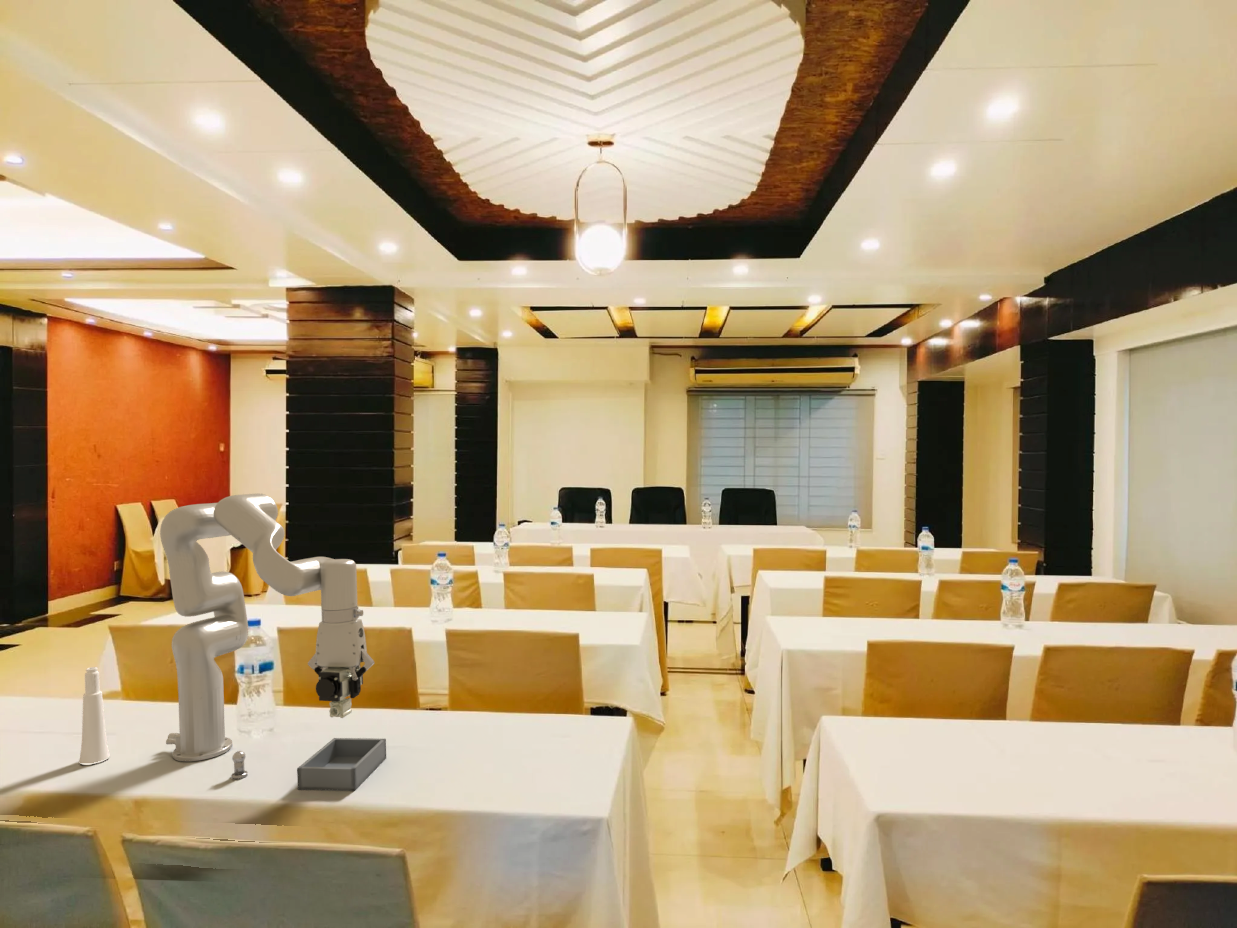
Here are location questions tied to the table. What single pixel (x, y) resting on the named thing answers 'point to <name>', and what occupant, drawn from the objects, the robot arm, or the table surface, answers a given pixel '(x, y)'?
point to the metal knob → (239, 765)
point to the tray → (342, 764)
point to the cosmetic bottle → (93, 721)
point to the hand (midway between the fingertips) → (341, 695)
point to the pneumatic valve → (336, 690)
